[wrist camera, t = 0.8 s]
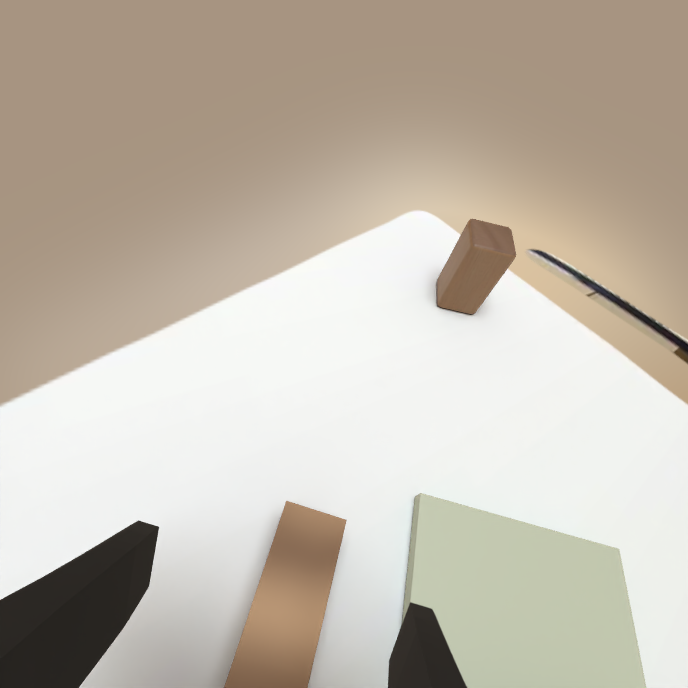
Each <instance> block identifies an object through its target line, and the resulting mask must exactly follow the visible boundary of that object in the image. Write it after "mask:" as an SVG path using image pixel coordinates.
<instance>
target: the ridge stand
mask: <svg viewBox="0 0 688 688" xmlns="http://www.w3.org/2000/svg"><path fill="white" fill-rule="evenodd" d="M410 602H411V603H415V604H418V605H421V606H425V607H428V608H431V609H433V611H434V613H435V615H436V618H437V620H438V622H439V625H440V627H441V630H442V632H443V634H444V637H445V639H446V641H447V644H448V646H449V648H450V651H451V653H452V655H453V657H454V660H455V662H456V664H457V666H458V669H459V671H460V673H461V675H462V677H463V680H464V682H465V684H466V686H467V688H646V684H645V679H644V673H643V668H642V663H641V658H640V653H639V648H638V643H637V638H636V633H635V628H634V622H633V617H632V612H631V607H630V602H629V597H628V592H627V587H626V582H625V577H624V571H623V566H622V561H621V556H620V551H619V549H617V548H614V547H610V546H606V545H603V544H599V543H596V542H592V541H589V540H585V539H582V538H578V537H575V536H571V535H567V534H564V533H560V532H557V531H553V530H550V529H546V528H543V527H539V526H536V525H532V524H528V523H525V522H521V521H518V520H514V519H511V518H507V517H504V516H500V515H497V514H493V513H489V512H486V511H482V510H479V509H475V508H472V507H468V506H465V505H461V504H458V503H454V502H450V501H447V500H443V499H440V498H436V497H433V496H429V495H426V494H422V493H420V494H419V495H417V496H416V497H415V501H414V511H413V521H412V530H411V540H410V550H409V559H408V569H407V579H406V588H405V598H404V608H403V618H402V623H403V621H404V618H405V615H406V612H407V609H408V607H409V604H410Z"/></svg>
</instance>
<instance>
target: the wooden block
mask: <svg viewBox="0 0 688 688" xmlns="http://www.w3.org/2000/svg"><path fill="white" fill-rule="evenodd" d="M515 257H516V252H515V247H514V241H513V236H512V231H511V229H509V228H508V227H504V226H500V225H496V224H492V223H488V222H484V221H479V220H476V219H470V220H469V221H468V223H467V225H466V227H465V229H464V231H463V232H462V234H461V236H460V238H459V240H458V242H457V244H456V246H455V247H454V249H453V251H452V253H451V255H450V257H449V259H448V261H447V262H446V264H445V266H444V268H443V270H442V272H441V274H440V276H439V278H438V279H437V304H438V306H439V307H441V308H446V309H450V310H455V311H459V312H463V313H468V314H474V313H476V311H477V310H478V308H479V307H480V306H481V304H482V303H483V302H484V300H485V299H486V297H487V296H488V295H489V293H490V292H491V291H492V289H493V288H494V286H495V285H496V284H497V282H498V281H499V280H500V278H501V277H502V275H503V274H504V273H505V271H506V270H507V268H508V267H509V266H510V264H511V263H512V262H513V260H514V259H515Z"/></svg>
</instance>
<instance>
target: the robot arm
mask: <svg viewBox="0 0 688 688" xmlns="http://www.w3.org/2000/svg"><path fill="white" fill-rule="evenodd" d="M158 530H159V527H158V526H155V525H151V524H148V523H145V522H141V521H137V522H135V523H133V524H132V525H130V526H128V527H127V528H125V529H123V530H122V531H120V532H118V533H117V534H115V535H113V536H112V537H110V538H108V539H107V540H105V541H104V542H102V543H100V544H99V545H97V546H95V547H94V548H92V549H90V550H89V551H87V552H85V553H84V554H82V555H80V556H79V557H77V558H75V559H73V560H72V561H70V562H68V563H66V564H65V565H63V566H61V567H60V568H58V569H56V570H54V571H53V572H51V573H49V574H47V575H46V576H44V577H42V578H40V579H38V580H36V581H35V582H33V583H31V584H29V585H27V586H25V587H23V588H22V589H20V590H18V591H16V592H14V593H12V594H10V595H9V596H7V597H5V598H3V599H1V600H0V688H79V686H80V685H81V684H82V682H83V681H84V680H85V679H86V677H87V676H88V675H89V673H90V672H91V671H92V669H93V668H94V667H95V665H96V664H97V663H98V661H99V660H100V659H101V657H102V656H103V655H104V653H105V652H106V651H107V649H108V648H109V647H110V645H111V644H112V643H113V641H114V640H115V639H116V637H117V636H118V634H119V633H120V632H121V630H122V629H123V628H124V626H125V625H126V623H127V621H128V620H129V618H130V617H131V615H132V613H133V612H134V610H135V609H136V607H137V605H138V604H139V602H140V600H141V599H142V597H143V595H144V594H145V592H146V590H147V589H148V587H149V583H150V577H151V571H152V565H153V559H154V553H155V547H156V541H157V536H158ZM388 688H467V686H466V684H465V682H464V680H463V677H462V675H461V673H460V671H459V669H458V666H457V664H456V662H455V660H454V657H453V655H452V653H451V651H450V648H449V646H448V644H447V641H446V639H445V637H444V634H443V632H442V630H441V627H440V625H439V622H438V620H437V618H436V615H435V613H434V611H433V609H431V608H428V607H425V606H421V605H418V604H415V603H411V602H410V604H409V607H408V609H407V612H406V615H405V618H404V621H403V623H402V626H401V629H400V632H399V635H398V637H397V640H396V643H395V646H394V648H393V651H392V654H391V657H390V660H389V677H388Z"/></svg>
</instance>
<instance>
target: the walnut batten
mask: <svg viewBox="0 0 688 688" xmlns="http://www.w3.org/2000/svg"><path fill="white" fill-rule="evenodd" d="M345 524H346V520H345V519H342V518H339V517H335V516H332V515H329V514H326V513H323V512H320V511H317V510H314V509H310V508H307V507H304V506H301V505H298V504H295V503H292V502H289V501H286V504H285V507H284V510H283V513H282V516H281V519H280V522H279V525H278V528H277V531H276V534H275V537H274V540H273V543H272V546H271V549H270V552H269V555H268V558H267V561H266V564H265V567H264V570H263V573H262V576H261V579H260V582H259V585H258V588H257V591H256V594H255V597H254V600H253V603H252V606H251V609H250V612H249V615H248V618H247V621H246V624H245V627H244V630H243V633H242V635H241V638H240V641H239V644H238V647H237V650H236V653H235V656H234V659H233V662H232V665H231V668H230V671H229V674H228V677H227V680H226V683H225V686H224V688H307V687H308V683H309V678H310V674H311V670H312V665H313V661H314V657H315V653H316V648H317V644H318V640H319V636H320V631H321V627H322V623H323V618H324V614H325V610H326V606H327V601H328V597H329V593H330V588H331V584H332V580H333V576H334V571H335V567H336V563H337V559H338V554H339V550H340V546H341V541H342V537H343V533H344V529H345Z"/></svg>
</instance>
